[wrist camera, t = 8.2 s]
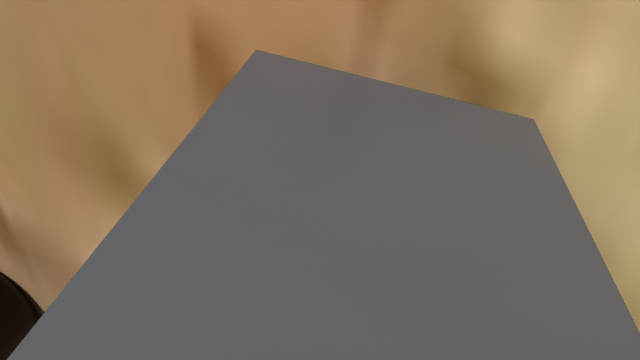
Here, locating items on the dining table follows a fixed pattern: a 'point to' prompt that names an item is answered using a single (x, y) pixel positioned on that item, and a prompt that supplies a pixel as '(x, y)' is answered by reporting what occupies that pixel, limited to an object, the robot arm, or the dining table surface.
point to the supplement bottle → (13, 317)
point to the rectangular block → (344, 238)
